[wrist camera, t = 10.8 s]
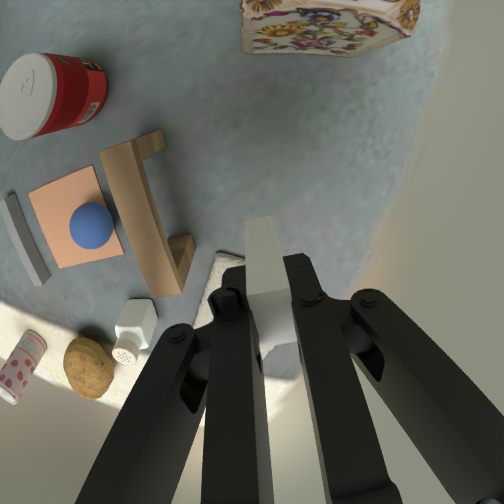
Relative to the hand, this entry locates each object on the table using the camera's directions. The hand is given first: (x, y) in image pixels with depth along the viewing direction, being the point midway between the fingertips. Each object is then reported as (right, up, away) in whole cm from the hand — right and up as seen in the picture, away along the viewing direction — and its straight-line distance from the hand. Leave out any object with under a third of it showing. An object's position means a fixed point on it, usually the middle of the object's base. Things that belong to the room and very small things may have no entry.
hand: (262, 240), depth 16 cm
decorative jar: (+4, +25, +6) cm, 26 cm away
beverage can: (-44, -18, +28) cm, 55 cm away
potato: (-28, -18, +28) cm, 44 cm away
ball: (-19, +2, +14) cm, 24 cm away
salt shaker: (-16, -9, +23) cm, 30 cm away
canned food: (-20, +18, +9) cm, 28 cm away
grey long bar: (-34, +1, +17) cm, 38 cm away
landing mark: (-24, +3, +17) cm, 29 cm away
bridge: (-10, +6, +15) cm, 19 cm away
